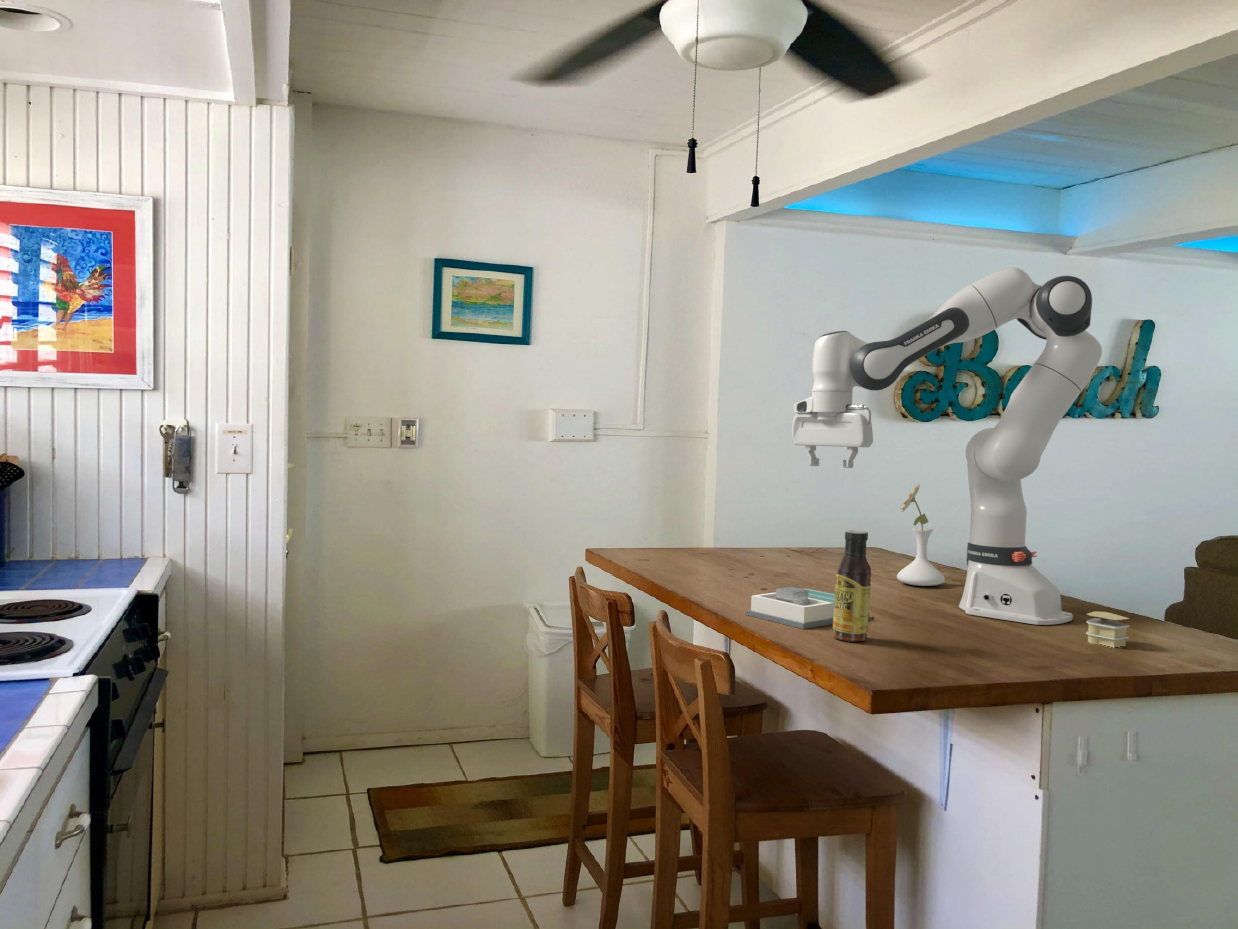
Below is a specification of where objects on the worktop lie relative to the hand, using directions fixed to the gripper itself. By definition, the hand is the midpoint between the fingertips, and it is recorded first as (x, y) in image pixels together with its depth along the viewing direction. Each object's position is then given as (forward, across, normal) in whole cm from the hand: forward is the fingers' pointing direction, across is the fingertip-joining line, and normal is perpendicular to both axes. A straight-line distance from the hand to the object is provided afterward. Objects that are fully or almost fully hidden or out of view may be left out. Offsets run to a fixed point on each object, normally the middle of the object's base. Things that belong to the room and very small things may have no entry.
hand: (830, 467), depth 216 cm
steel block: (+28, -11, +25) cm, 39 cm away
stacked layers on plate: (+31, -57, -8) cm, 66 cm away
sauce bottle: (+30, -29, +30) cm, 51 cm away
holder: (+29, -11, +20) cm, 37 cm away
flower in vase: (+30, -1, -33) cm, 45 cm away
